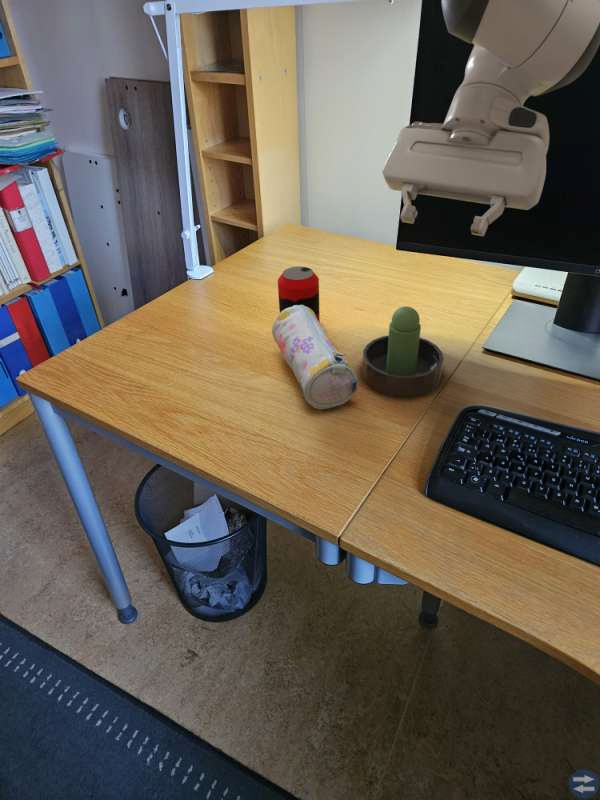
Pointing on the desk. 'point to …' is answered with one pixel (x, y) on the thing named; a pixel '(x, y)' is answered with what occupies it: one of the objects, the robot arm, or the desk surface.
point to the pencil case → (313, 358)
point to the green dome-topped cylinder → (403, 342)
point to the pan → (397, 384)
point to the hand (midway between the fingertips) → (440, 227)
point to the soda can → (299, 289)
